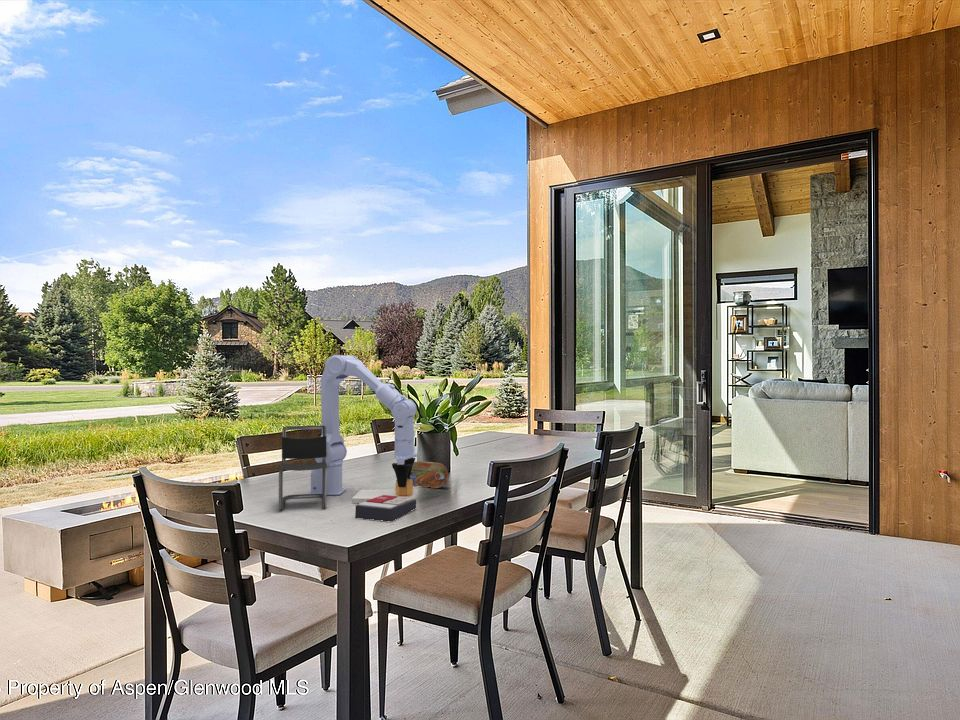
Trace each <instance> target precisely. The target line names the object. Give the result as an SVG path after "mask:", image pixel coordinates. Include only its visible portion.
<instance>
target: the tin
mask: <svg viewBox="0 0 960 720" xmlns="http://www.w3.org/2000/svg"><path fill="white" fill-rule="evenodd" d="M410 479H412V480H413V486H414V485H415V486H414V487H417V486H423V487H422V488H426V487H431V488H430V489H434V488H437V489H440V488H442V487H444V486H445V485H446V484H447V483H448V480H449V471H448V468H447V466H445V464H443V463H441V462H432V461H422V460H421V461H414V463H413V466H412V470H411V475H410Z"/></svg>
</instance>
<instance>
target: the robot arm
mask: <svg viewBox="0 0 960 720" xmlns="http://www.w3.org/2000/svg"><path fill="white" fill-rule="evenodd" d="M348 377H356V378H358V379H359V380H360V381H361V382H362V383H364V384H365V385H366V386H367V387H369V389H372V390H373V392H375V398H376V399H377V400H378V401H379V402H381V404H383V405H384V406H385V407H386V408H387V409H389V411H390V414H391V416H392V417H393V418H394V453H393V458H395V459H396V462H393V463H391V467H392V468H393V471H394V474H395V477H396V480H397V483H398V487H406V484H407V479H410V475H411V470H412V466H413V463H414V462H416V457H418V453H414V445H415V444H414V441H415V440H414V436H415V435H414V434H415V433H414V429H415V428H414V426H415V425H414V423H415V421H414V420H415V419H414V418H415V417H414V416H415V415H416V414H417V412H418V408H417V405H416V403H415V402H414V399H413V400H412V399H410V398H408V399H407V398H406V395H405V394H401V392H399V391H398V390H397V389H395V387H396V386H395V385H394V384H393V383H392V384H390V383H383V382H382V381H381V380H380V379H379V378H378V377H377V376H376V375H375V374H373V372H372V371H371V370H370V369H368V368H367V367H366V366H365V365H364V363H363V362H362V360H360V359H358V357H356V355H353V354H347V355H339V354H334V355H331V356H330V357H329V358H328V359H327V360H325V362H324V369H323V373H322V375H321V376H320V396H321V397H320V399H321V400H320V404H321V405H320V406H321V407H320V408H321V411H320V412H321V426H326V435H327V436H326V465H327V470H326V496H340V495H341V494H343V492H345V491H346V490H347V488H345V487H343V462H344V460H345V458H346V456H347V453H348V450H347V447H346V445H345V439H344V437H343V436H342V435H341V433H340V398H339V397H340V394H339V385H340V384H341V383H342V382H343V381H344V380H345V379H346V378H348ZM320 437H323V429H321V436H320ZM314 460H315V461H316V463H321V462H323V457H321V458H314ZM309 494H322V468H321V469H315V470H310V493H309Z"/></svg>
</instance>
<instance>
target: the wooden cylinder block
mask: <svg viewBox="0 0 960 720" xmlns="http://www.w3.org/2000/svg"><path fill="white" fill-rule="evenodd" d="M395 490H396V495H411V494H413V490H414V485H413V480H412V479H407V484H406V487H398V483H397V479H396V480H395Z"/></svg>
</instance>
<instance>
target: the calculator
mask: <svg viewBox="0 0 960 720" xmlns="http://www.w3.org/2000/svg"><path fill="white" fill-rule="evenodd" d="M415 508H416V509H417V500H416V499H415V500H414V498H409V497H398V496H389V495H382V496H379V497H376V498H373V499H370V500H367V501H366V502H363V503H360V504H357V505H355V510H354V511H355V513H354V514H355V519H357V518H363V519H362V520H366V519H374V520H373V521H375V520H383V521H392V522H394V521H396V520H398V519H400V517H402V515H403V516H405V515H407V514H406V513H408V512H410V511H411V510H413V509H415ZM416 509H415V510H416ZM413 511H414V510H413ZM411 512H412V511H411ZM411 512H410V513H411ZM404 514H405V515H404ZM408 514H409V513H408ZM397 518H398V519H397ZM395 519H396V520H395ZM393 520H394V521H393ZM383 521H382V522H383Z"/></svg>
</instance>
